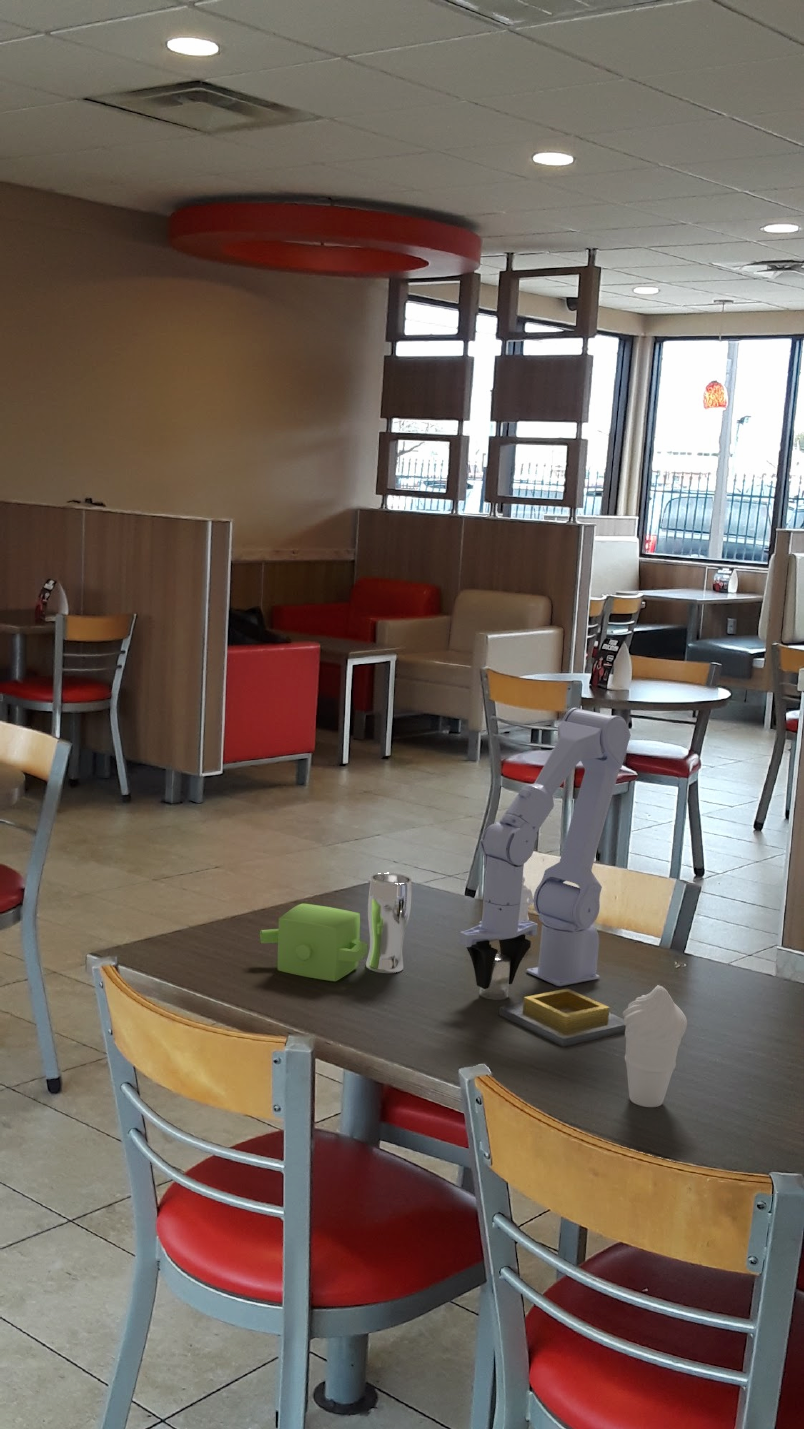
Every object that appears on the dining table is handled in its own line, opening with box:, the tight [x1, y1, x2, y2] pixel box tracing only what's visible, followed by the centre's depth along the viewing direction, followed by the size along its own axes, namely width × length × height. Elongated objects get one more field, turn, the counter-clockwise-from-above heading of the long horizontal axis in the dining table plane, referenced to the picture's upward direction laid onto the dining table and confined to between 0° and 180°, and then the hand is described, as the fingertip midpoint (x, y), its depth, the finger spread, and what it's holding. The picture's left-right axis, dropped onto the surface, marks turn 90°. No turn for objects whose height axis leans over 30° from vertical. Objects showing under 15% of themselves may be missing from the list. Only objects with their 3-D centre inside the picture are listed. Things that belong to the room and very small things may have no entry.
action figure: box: [519, 875, 534, 922], centre depth 249 cm, size 6×4×12 cm, turn 133°
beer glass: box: [365, 872, 412, 974], centre depth 231 cm, size 7×7×15 cm
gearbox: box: [259, 903, 368, 982], centre depth 227 cm, size 18×10×10 cm, turn 67°
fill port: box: [498, 987, 626, 1048], centre depth 213 cm, size 14×14×3 cm
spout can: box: [479, 953, 511, 1001], centre depth 222 cm, size 4×4×8 cm
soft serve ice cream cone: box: [622, 984, 688, 1108], centre depth 185 cm, size 8×8×16 cm
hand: (494, 984), depth 222 cm, fingers closed on spout can, 4 cm apart
